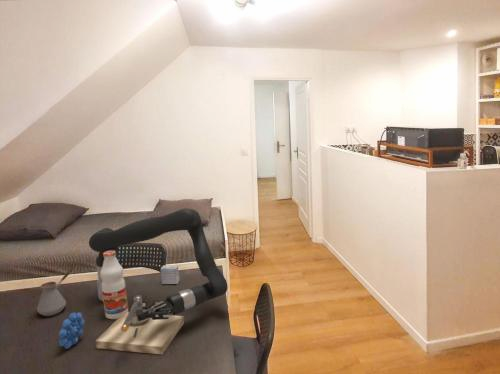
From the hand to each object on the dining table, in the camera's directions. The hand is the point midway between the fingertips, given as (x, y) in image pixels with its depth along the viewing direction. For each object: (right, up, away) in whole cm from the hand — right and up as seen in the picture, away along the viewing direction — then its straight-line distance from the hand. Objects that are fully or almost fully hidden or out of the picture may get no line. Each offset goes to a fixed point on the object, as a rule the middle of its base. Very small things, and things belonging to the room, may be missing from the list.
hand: (137, 318), depth 130 cm
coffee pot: (-45, -7, +34) cm, 58 cm away
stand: (-1, -10, +9) cm, 13 cm away
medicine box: (0, -2, +53) cm, 53 cm away
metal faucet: (-3, -7, +6) cm, 10 cm away
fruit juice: (-17, -8, +25) cm, 31 cm away
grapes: (-26, -12, +5) cm, 29 cm away
